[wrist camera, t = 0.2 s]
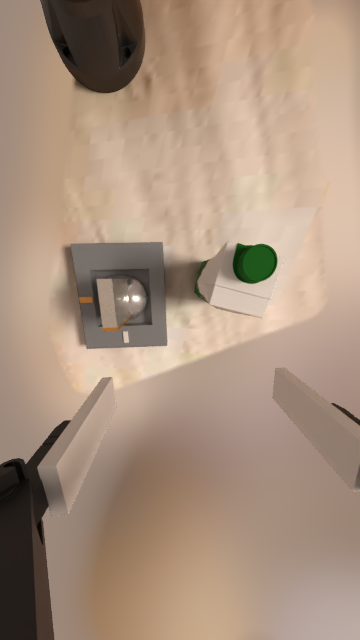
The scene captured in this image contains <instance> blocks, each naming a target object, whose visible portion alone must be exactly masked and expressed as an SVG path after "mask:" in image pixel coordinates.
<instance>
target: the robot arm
mask: <svg viewBox="0 0 360 640" xmlns="http://www.w3.org/2000/svg"><path fill="white" fill-rule="evenodd" d="M40 1H41V4H42V8H43V12H44V15H45V19H46V23H47V26H48V30H49V33H50V35H51V38H52V40H53V43H54V45H55V47H56V49H57V51H58V53H59V55H60V57H61V59H62V61H63V63H64V64H65V66H66V67H67V69H68V70H69V72H70V73H71V74H72V75H73V76H74V77H75V78H76V79H77V80H78V81H79V82H80V83H81V84H83V85H84V86H86V87H88V88H90V89H92V90H95V91H99V92H113V91H116V90H119V89H121V88H123V87H124V86H126V85H127V84H128V83H129V82H130V81H131V80H132V79H133V78H134V77H135V75H136V74H137V72H138V70H139V68H140V66H141V63H142V60H143V56H144V50H145V30H144V21H143V13H142V7H141V2H140V0H40ZM273 399H274V400H275V401H276V402H277V404H278V405H279V406H280V407H281V408H282V409H283V411H284V412H285V413H286V414H287V415H288V416H289V418H290V419H291V420H292V421H293V422H294V423H295V425H296V426H297V427H298V428H299V429H300V431H301V432H302V433H303V434H304V435H305V436H306V438H307V439H308V440H309V441H310V442H311V443H312V445H313V446H314V447H315V448H316V449H317V450H318V451H319V453H320V454H321V455H322V456H323V457H324V458H325V460H326V461H327V462H328V463H329V464H330V466H331V467H332V468H333V469H334V470H335V471H336V473H337V474H338V475H339V476H340V477H341V478H342V480H343V481H344V482H345V483H346V484H347V485H348V486H349V488H350V489H351V490H352V491H353V492H355V491H360V420H359V419H358V418H356V417H354V415H352V414H351V413H350V412H348V411H347V410H346V409H344V408H342V407H340V406H338V405H336V404H334V403H329V402H328V401H327V400H326V399H324V398H323V397H322V396H320V395H319V394H318V393H316V392H315V391H314V390H313V389H311V388H310V387H309V386H307V385H306V384H305V383H304V382H302V381H301V380H300V379H298V378H297V377H296V376H295V375H293V374H292V373H291V372H289V371H288V370H286V368H276V369H275V377H274V388H273ZM115 409H116V401H115V394H114V387H113V379H112V377H108V378H102V379H101V380H100V382H99V383H98V385H97V386H96V387H95V389H94V390H93V391H92V393H91V394H90V396H89V397H88V398H87V400H86V401H85V402H84V404H83V405H82V406H81V408H80V409H79V410H78V412H77V413H76V415H75V416H74V417H73V419H72V420H70V421H63V422H62V423H61V424H60V425H59V426H57V427H56V428H55V429H54V430H53V431H52V433H51V434H50V435H49V436H48V438H47V439H46V440H45V441H44V443H43V444H42V446H40V448H39V449H38V450H37V451H36V452H35V454H34V455H33V456H32V457H31V459H30V460H29V461H28V463H27V464H26V465H25V462H24V460H23V459H20V458H18V459H12V460H9V461H7V462H4V463H2V464H1V465H0V640H54V632H53V622H52V611H51V601H50V590H49V580H48V570H47V559H46V549H45V538H44V528H43V521H42V517H43V515H44V513H45V511H46V509H47V508H48V507H49V511H50V514H51V516H52V515H65V514H69V512H70V510H71V507H72V505H73V503H74V500H75V499H76V496H77V494H78V492H79V490H80V487H81V485H82V483H83V481H84V478H85V476H86V474H87V472H88V470H89V467H90V465H91V463H92V461H93V458H94V456H95V454H96V451H97V450H98V447H99V445H100V443H101V441H102V438H103V436H104V434H105V431H106V429H107V427H108V425H109V423H110V420H111V418H112V416H113V414H114V411H115Z"/></svg>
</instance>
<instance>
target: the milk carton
mask: <svg viewBox="0 0 360 640" xmlns="http://www.w3.org/2000/svg"><path fill="white" fill-rule="evenodd" d="M284 260H285V258H283V257H280V256H277V255H276V252H275V251H274V249H273V248H272V247H270V246H268V245H265V244H257V245H254V246H252V245H247V246H245V245H242V244H239V243H238V244H235V243H232V242H227V243H226V244H225V245H224V246H223V248H222V249H221V250H220V251H219V252H218V254H217V255H216V256H215V257H213V258H212V259H209V260H207V261H204V262H203V263H202V266H201V269H200V272H199V276H198V279H197V283H196V289H195V294H197V295H198V296H199V297H201V298H202V299H203V300H204V301H206V302H207V303H209V305H212V306H213V307H215V308H217V309H221V310H225V311H229V312H233V313H238V314H244V315H249V316H255V317H260V318H263V316H264V314H265V311H266V308H267V305H268V303H269V300H271V298H272V295H273V292H274V288H275V286H276V283H277V280H278V277H279V274H280V271H281V269H282V266H283V263H284Z"/></svg>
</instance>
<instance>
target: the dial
mask: <svg viewBox="0 0 360 640" xmlns="http://www.w3.org/2000/svg"><path fill="white" fill-rule="evenodd" d="M96 280H97V287H98V295H99V303H100V310H101V318H102V326H103V331H118V330H119V329H120V328H121V327H123V326H124V325H125V324H126V323H127V322H128V321H130V320H133V319H135V318H137V317H138V316H139V315H140V314H141V313H142V312H143V311H144V309H145V307H146V304H147V293H146V290H145V288H144V286H143V285H142V283H141V282H140V281H139V280H137V279H136V278H134V277H132V276H129V275H121V274H120V275H114V276H112V277H110V278H108V279H96Z"/></svg>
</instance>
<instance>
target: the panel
mask: <svg viewBox="0 0 360 640" xmlns="http://www.w3.org/2000/svg"><path fill="white" fill-rule="evenodd" d="M70 245H71V251H72V257H73V264H74V270H75V276H76V283H77V289H78V296H79V302H80V308H81V315H82V321H83V327H84V334H85V340H86V347H87V349H95V348H121V347H147V346H167V325H166V303H165V280H164V257H163V243H162V242H150V243H95V244H70ZM120 274H121V275H129V276H132V277H134V278H136V279H137V280H139V281H140V282H141V283H142V285H143V286H144V288H145V290H146V293H147V304H146V307H145V309H144V311H143V312H142V313H141V314H140V315H139V316H138V317H137V318H135V319H133V320H130V321H128V322H127V323H126V324H125V325H124V326H123V327H121V328H120V329H119V330H118V331H103V326H102V318H101V310H100V303H99V295H98V287H97V280H96V279H108V278H110V277H112V276H114V275H120Z"/></svg>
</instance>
